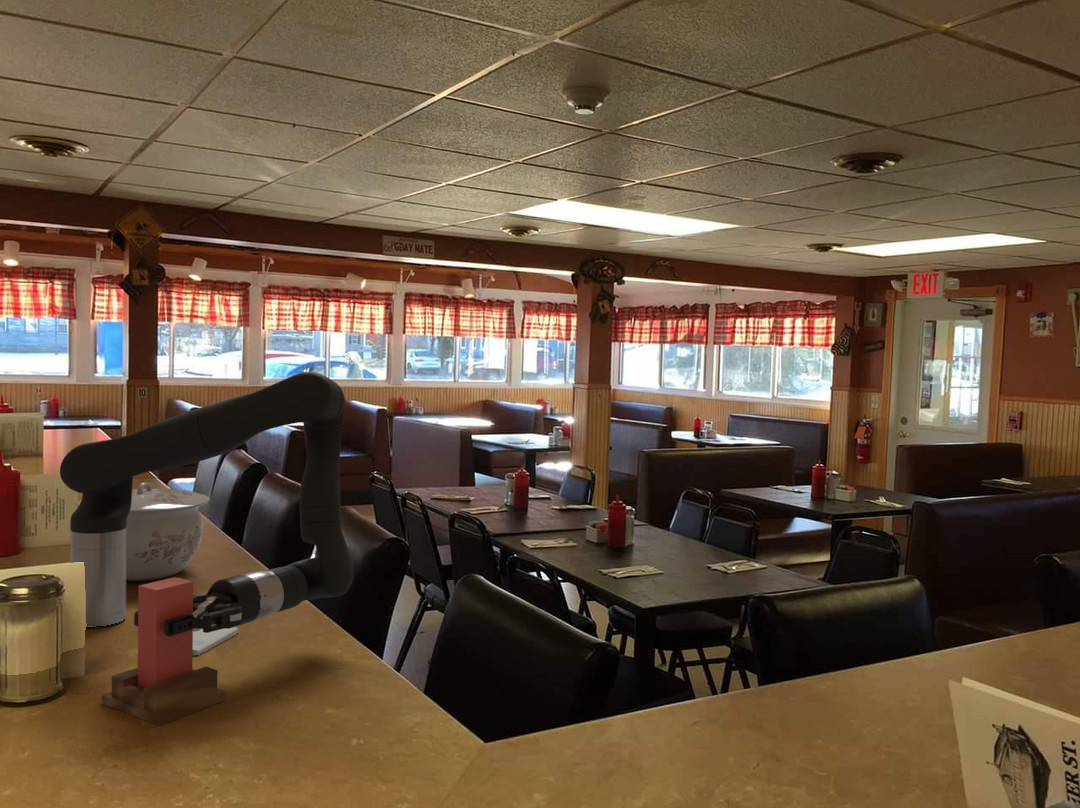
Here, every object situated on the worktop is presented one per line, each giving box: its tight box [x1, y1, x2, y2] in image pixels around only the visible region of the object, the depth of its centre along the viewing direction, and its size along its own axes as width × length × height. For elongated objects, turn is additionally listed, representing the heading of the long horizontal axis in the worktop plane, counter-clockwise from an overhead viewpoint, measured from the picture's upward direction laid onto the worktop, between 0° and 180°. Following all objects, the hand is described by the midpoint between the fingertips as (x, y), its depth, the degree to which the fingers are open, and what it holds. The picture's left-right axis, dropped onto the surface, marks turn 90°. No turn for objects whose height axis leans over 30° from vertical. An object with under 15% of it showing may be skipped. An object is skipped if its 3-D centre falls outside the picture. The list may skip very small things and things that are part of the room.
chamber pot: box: [74, 481, 211, 582], centre depth 194 cm, size 28×28×21 cm
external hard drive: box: [193, 626, 240, 656], centre depth 151 cm, size 2×8×12 cm
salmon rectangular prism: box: [137, 576, 194, 690], centre depth 124 cm, size 4×6×16 cm, turn 150°
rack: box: [101, 666, 228, 727], centre depth 125 cm, size 13×11×4 cm
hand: (151, 624), depth 122 cm, fingers open, 6 cm apart
